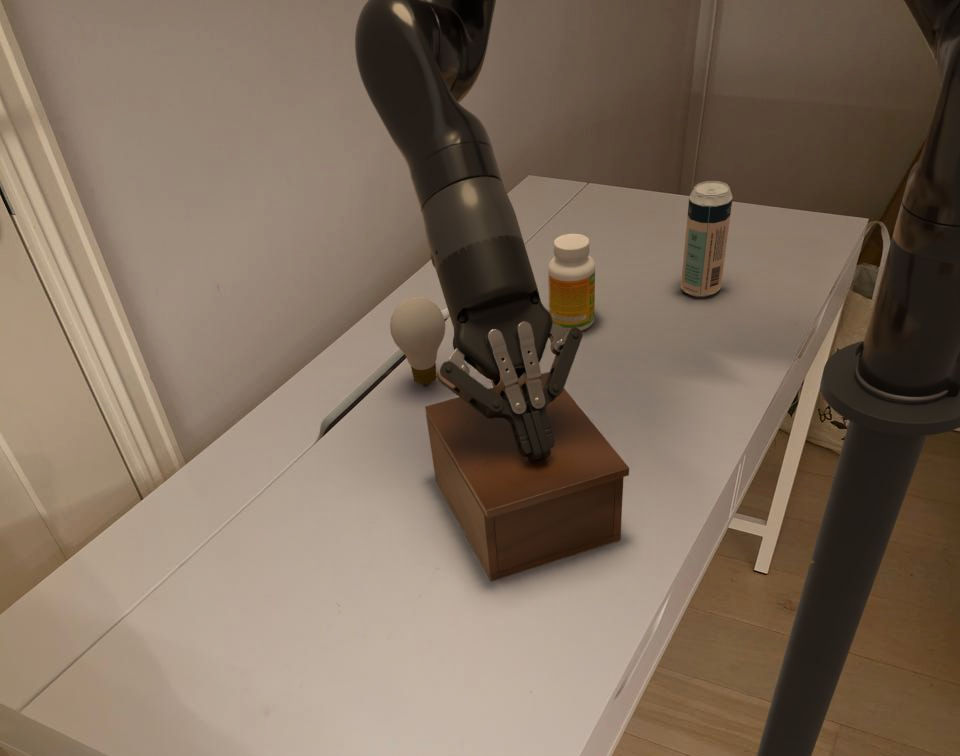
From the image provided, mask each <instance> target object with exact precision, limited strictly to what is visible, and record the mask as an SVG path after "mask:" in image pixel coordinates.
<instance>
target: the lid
mask: <svg viewBox="0 0 960 756" xmlns="http://www.w3.org/2000/svg"><path fill="white" fill-rule="evenodd" d="M549 372H550V371H548V372H544V373H541V384H542V388H544V386H545V383H546V380H547V377H548V375H549ZM487 389H488V390H490V391H491V392H492V393H494V394H495V395H496V393H495V390H494V388H493V387H490V388H487ZM496 396H497V395H496ZM424 410H425V415H426V414H427V416H428V418H429V420H430V421H431V423H432V425H433V426H434V428H435V430H436V431H437V433H438V435H439V437H440V438H441V440H442V442H443V443H444V445H445V447H446V448H447V450H448V452H449V454H450V455H451V457H452V459H453V460H454V462H455V464H456V465H457V467H458V469H459V470H460V472H461V474H462V476H463V477H464V479H465V481H466V482H467V484H468V486H469V487H470V489H471V491H472V493H473V494H474V496H475V498H476V499H477V501H478V503H479V504H480V506H481V508H482V510H483V511H484V513H485V515H486V516H487V518H491V517H494V516H497V515H501V514H504V513H507V512H511V511H514V510H517V509H520V508H524V507H527V506H530V505H533V504H537V503H540V502H543V501H547V500H550V499H553V498H556V497H560V496H563V495H566V494H569V493H573V492H576V491H579V490H583V489H586V488H589V487H592V486H596V485H599V484H602V483H606V482H609V481H612V480H615V479H619V478H622V477H624V478H625V477H628V476H630V467H629V465H628V464H627V463H626V462H625V461H624V459H623V458H622V457H621V455H620V454H619V453H618V452H617V451H616V449H615V448H614V447H613V446H612V445H611V444H610V443H609V441H608V440H607V439H606V438H605V436H604V435H603V434H602V432H601V431H600V430H599V429H598V427H596V425H595V424H594V423H593V422H592V420H591V419H590V418H589V416H587V414H586V413H585V412H584V411H583V410H582V408H581V406H580V405H579V404H578V403H577V402H576V400H575V399H574V398H573V397H572V396H571V394H569V392H568V391H567V389H566V388H565V387H564V388H563V391H562V393H561V394H560V395H559V396H557V397H556V398H555V399H554V400H553V401H552V402H550V403H548V404H547V406H546V413H547V417H548V420H549V423H550V427H551V430H552V433H553V437H554V446H553V447H552V448H551V449H550V450H551V454H550V455H549V456H548V457H547V458H544V459H540V460H537V461H534V462H529V460H528V457H527V456H525V457H522V455H521V454H520V453H519V451H518V448H517V444H516V440H515V438H514V434H513V431H512V428H511V425H510V423H509V421H508V420H506V419H504V418H492V419H489V418H487V417H486V416H484V415H483V414H482V413H480V412H479V411H477V410H476V409H475V408H473V407H472V406H471V405H469V404H468V403H467V402H465V401H464V400H463V399H461V398H460V397H459V396H457V397H454V398H450V399H447V400H444V401H440V402H436V403H432V404H428V405H425V406H424Z"/></svg>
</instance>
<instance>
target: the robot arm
mask: <svg viewBox="0 0 960 756" xmlns="http://www.w3.org/2000/svg"><path fill="white" fill-rule="evenodd" d="M496 2H497V0H431V1H429V0H367V1H366V2H365V4H364V5H363V6H362V9H361V10H360V13H359V16H358V19H357V23H356V25H355V34H354V53H355V60H356V61H355V62H356V65H357V69H358V73H359V77H360V79H361V82H362V85H363V87H364V89H365V91H366V94H367V96H368V99H369V100H370V101H371V102H370V103H371V104H372V106H373V107H374V110H375V111H376V113H377V115H378V116H379V119H380V120H381V122H382V124H383V126H384V127H385V129H386V131H387V133H388V135H389V136H390V138H391V140H392V142H393V143H394V146H396V148H397V150H398V151H399V153H400V154H401V156H402V157H403V159H404V162H405V163H406V165H407V168H408V171H409V176H410V180H411V183H412V186H413V190H414V193H415V196H416V198H417V203H418V206H419V210H420V212H421V215H422V219H423V224H424V231H425V237H426V241H427V246H428V249H429V253H430V260H431V263H432V266H433V268H434V269H435V272H436V275H437V278H438V281H439V285H440V288H441V292H442V295H443V298H444V301H445V304H446V305H445V306H446V308H447V311H448V315H449V318H450V321H451V325H452V328H453V338H452V348H453V352H452V354H451V355H450V357H449V358H448V359H447V361H444V362H443V363H442V364H441V366H440V368H439V370H438V372H437V373H436V376H437V378H436V380H437V381H438V383H440V384H441V385H442V386H444V387H445V388H446V389H448V390H449V391H450V392H452V393H453V394H455V395H456V396H457V397H460V398H461V399H463V400H464V401H465V402H467V403H468V404H469V405H471V406H472V407H473V408H475V409H476V410H477V411H479V412H480V413H482V414H483V415H484V416H486V417H487V418H489V419H492V418H504V419H506V420H508V421H509V423H510V425H511V428H512V431H513V434H514V438H515V440H516V444H517V448H518V451H519V453H520V454H521V455H522V457H525V456H527V457H528V460H529V462H534V461H537V460H540V459H544V458H547V457H548V456H549V455H550V454H551V450H550V449H551V448H552V447H553V446H554V437H553V433H552V430H551V427H550V423H549V420H548V417H547V413H546V406H547V404H548V403H550V402H552V401H553V400H554V399H555V398H556V397H557V396H559V395H560V394H561V393H562V391H563V388H564V389H565V385H566V383H567V380H568V377H569V374H570V372H571V369H572V366H573V363H574V361H575V358H576V355H577V353H578V350H579V347H580V344H581V342H582V339H583V332H582V331H581V330H580V329H579V328H572V329H570V330H568V329H566V328H564V327H562V326H560V325H557V324H555V323H553V321H552V316H551V314H550V313H549V310H548V309H547V308H546V307H545V306H544V304H543V303H542V301H541V297H540V296H541V295H540V292H539V289H538V285H537V281H536V278H535V275H534V272H533V268H532V265H531V262H530V258H529V255H528V251H527V248H526V244H525V241H524V238H523V235H522V232H521V231H522V230H521V228H520V225H519V220H518V218H517V215H516V212H515V208H514V207H513V203H512V202H511V200H510V197H509V195H508V193H507V190H506V188H505V185H504V182H503V180H502V175H501V172H500V169H499V165H498V162H497V160H496V156H495V152H494V148H493V145H492V142H491V139H490V136H489V134H488V131H487V129H486V128H485V125H484V124H483V122H482V121H481V119H480V118H478V116H477V115H476V114H474V113H473V112H471V111H469V110H468V109H467V108H465V107H464V106H463V105H461V102H462V101H463V100H464V99H465V98H466V97H467V95H468V94H469V93H470V92H471V90H472V89H473V87H474V86H475V84H476V82H477V80H478V78H479V75H480V73H481V72H482V68H483V65H484V62H485V58H486V54H487V50H488V45H489V39H490V34H491V29H492V23H493V18H494V13H495V8H496ZM902 2H903V4H904V5H905V7H906V9H907V11H908V12H909V14H910V16H911V17H912V19H913V21H914V23H915V25H916V26H917V28H918V30H919V32H920V33H921V37H923V39H924V42H925V44H926V46H927V47H928V50H929V51H930V54H931V55H932V58H933V60H934V63H935V66H936V69H937V72H938V75H939V80H940V89H939V92H938V95H937V99H936V103H935V106H934V108H933V109H934V110H933V113H932V117H931V120H930V124H929V127H928V131H927V133H926V138H925V140H924V145H923V148H922V151H921V154H920V156H919V159H918V160H917V162H916V163H915V164H914V165H913V166H912V167H911V169H910V172H909V174H908V177H907V180H906V184H905V188H904V191H903V195H902V198H901V202H900V206H899V210H898V214H897V218H896V221H895V225H894V229H893V232H892V235H891V240H890V242H889V243H890V244H889V248H888V251H887V255H886V259H885V262H884V266H883V269H882V273H881V276H880V281H879V284H878V288H877V292H876V295H875V299H874V303H873V306H872V310H871V313H870V317H869V321H868V325H867V328H866V332H865V336H864V339H863V340H862V341H863V342H862V343H861V344H860V345H859V346H858V347H857V350H856V354H855V357H856V356H857V355H858V354H859V353H860V356H859V360H858V362H857V365H856V368H855V373H854V375H855V380H856V382H857V383H858V385H859V386H860V387H861V388H862V389H863V390H865V391H866V392H867V393H869V394H871V395H873V396H875V397H877V398H879V399H882V400H885V401H889V402H893V403H899V404H909V405H917V404H927V403H932V402H935V401H938V400H941V399H943V398H945V397H957V396H958V393H959V390H960V0H902ZM548 340H550V345H549V346H550V352H551V353H552V354H553V355H555V356H554V358H553V361H552V364H551V367H550V370H549V371H548V372H549V375H548V377H547V380H546V383H545V386H544V388H542V384H541V374H542V370H541V366H540V362H541V360H542V358H543V355H544V353H545V350H546V347H547V343H548ZM466 363H467V364H468V365H467V364H466ZM469 366H470V367H472V368H473V369H474V370H475V371H477V372H478V373H479V374H480V375H482V376H483V377H484V378H486V379H487V380H490V382H491V384H492V388H494V390H495V393H496V395H497V396H496V395H495V394H494V393H492V392H491V391H490V390H488V389H489V388H487V387H486V386H484V385H483V384H482V383H480V382H479V381H478V380H476V379H475V378H474V377H472V376H471V375H470V373H471V370H470V367H469Z"/></svg>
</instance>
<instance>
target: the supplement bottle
mask: <svg viewBox="0 0 960 756" xmlns="http://www.w3.org/2000/svg"><path fill="white" fill-rule="evenodd" d="M553 255H554V256H553V258H552V259H551V260H550V261H549V263H548V269H547V278H548V279H547V281H548V285H547V286H548V312H549V313H550V314H551V316H552V321H553V323H555V324H557V325H560V326H562V327H564V328H566V329H568V330H570V329H572V328H579V329H580V330H581V332H582V331H584V330H587V329H588V328H590V327H591V326H592V325H593V324H594V322H595V312H596V311H595V310H596V309H595V308H596V307H595V304H596V295H595V294H596V263H595V259H594V258H593V257H592V256H590V239H589V238H588V237H587V235H584V234H580V233H566V234H563V235H560V236H558V237H556V238H555V239H554V241H553Z"/></svg>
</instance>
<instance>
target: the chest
mask: <svg viewBox="0 0 960 756" xmlns="http://www.w3.org/2000/svg"><path fill="white" fill-rule="evenodd" d="M425 418H426V424H427V431H428V436H429V444H430V452H431V457H432V464H433V465H432V466H433V471H434V477H435V482H436V483H437V486H438V487H439V489H440V491H441V493H442V495H443V497H444V498H445V500H446V502H447V503H448V506H449V507H450V510H451V511H452V513H453V515H454V516H455V518H456V521H457V522H458V524H459V526H460V527H461V530H462V531H463V534H464V535H465V537H466V538H467V540H468V542H469V544H470V546H471V548H472V550H473V552H474V553H475V555H476V557H477V559H478V561H479V562H480V565H481V566H482V568H483V570H484V571H485V574H486V575H487V577H488V579H489V581H490V582H493V581H497V580H500V579H502V578H506V577H509V576H512V575H515V574H518V573H521V572H525V571H527V570H531V569H534V568H537V567H540V566H543V565H547V564H550V563H552V562H556V561H559V560H562V559H565V558H569V557H571V556H576V555H578V554H581V553H584V552H587V551H591V550H594V549H598V548H600V547H603V546H606V545H609V544H613V543H615V542H618V541H621V539H622V518H623V517H622V516H623V496H624V480H625V479H624V478H625V477H622V478H619V479H615V480H612V481H609V482H606V483H602V484H599V485H596V486H592V487H589V488H586V489H583V490H579V491H576V492H573V493H569V494H566V495H563V496H560V497H556V498H553V499H550V500H547V501H543V502H540V503H537V504H533V505H530V506H527V507H524V508H520V509H517V510H514V511H511V512H507V513H504V514H501V515H497V516H494V517H491V518H487V516H486V515H485V513H484V511H483V510H482V508H481V506H480V504H479V503H478V501H477V499H476V498H475V496H474V494H473V493H472V491H471V489H470V487H469V486H468V484H467V482H466V481H465V479H464V477H463V476H462V474H461V472H460V470H459V469H458V467H457V465H456V464H455V462H454V460H453V459H452V457H451V455H450V454H449V452H448V450H447V448H446V447H445V445H444V443H443V442H442V440H441V438H440V437H439V435H438V433H437V431H436V430H435V428H434V426H433V425H432V423H431V421H430V420H429V418H428V416H427V414H426V413H425Z"/></svg>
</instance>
